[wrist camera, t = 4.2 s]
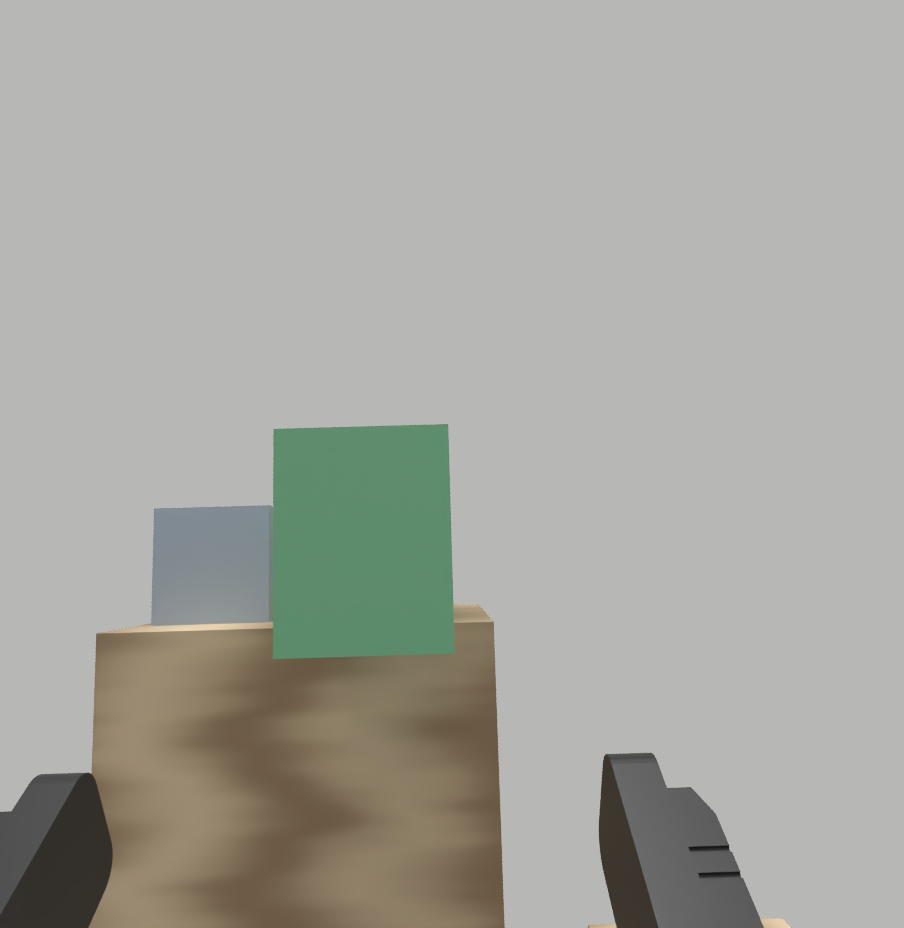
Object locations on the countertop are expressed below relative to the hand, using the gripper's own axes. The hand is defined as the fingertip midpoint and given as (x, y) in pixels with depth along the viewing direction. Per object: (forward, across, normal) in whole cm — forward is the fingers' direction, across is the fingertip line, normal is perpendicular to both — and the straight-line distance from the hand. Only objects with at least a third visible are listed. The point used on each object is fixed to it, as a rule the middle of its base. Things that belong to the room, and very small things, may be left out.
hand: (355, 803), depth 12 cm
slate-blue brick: (+16, -7, -7) cm, 18 cm away
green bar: (+12, 0, -4) cm, 13 cm away
